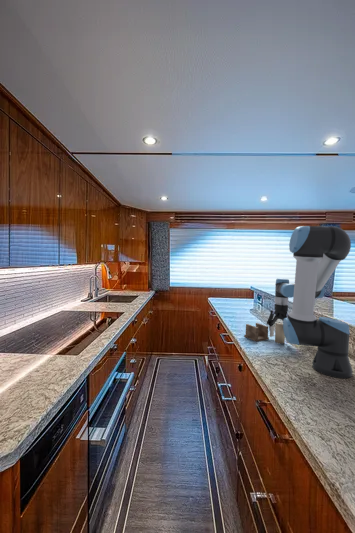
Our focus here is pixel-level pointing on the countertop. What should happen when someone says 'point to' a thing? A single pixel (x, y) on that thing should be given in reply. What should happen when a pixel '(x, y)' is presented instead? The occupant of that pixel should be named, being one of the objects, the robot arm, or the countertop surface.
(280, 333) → the beige rectangular block
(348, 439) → the countertop surface
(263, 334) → the holder
